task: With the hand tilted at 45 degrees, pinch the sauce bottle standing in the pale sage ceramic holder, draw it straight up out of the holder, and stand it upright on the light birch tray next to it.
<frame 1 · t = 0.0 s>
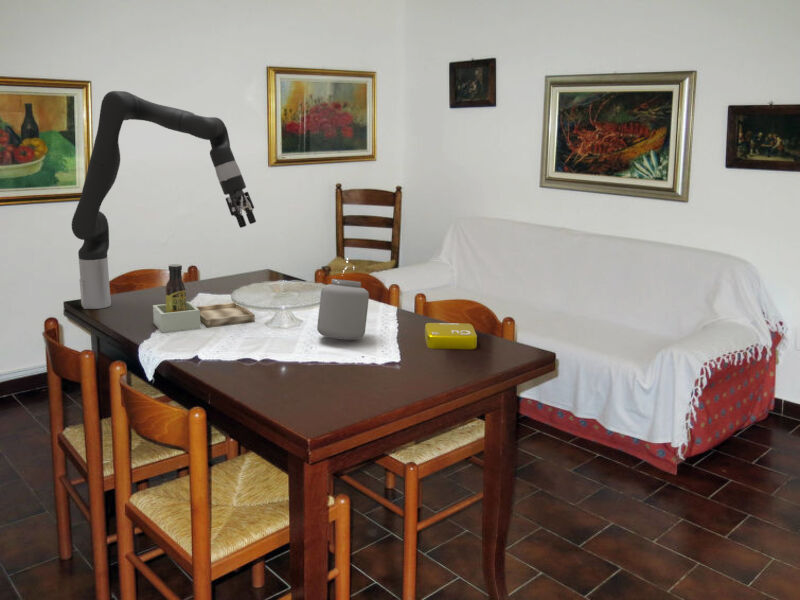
hand: (248, 225, 250), 31 cm above the table, tool tilted 20°, fingers open, 8 cm apart
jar: (344, 338, 237), on the table
tray: (223, 317, 256), on the table
element tile: (449, 343, 236), on the table
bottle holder: (176, 325, 246), on the table
sauce bottle: (177, 326, 246), resting in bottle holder
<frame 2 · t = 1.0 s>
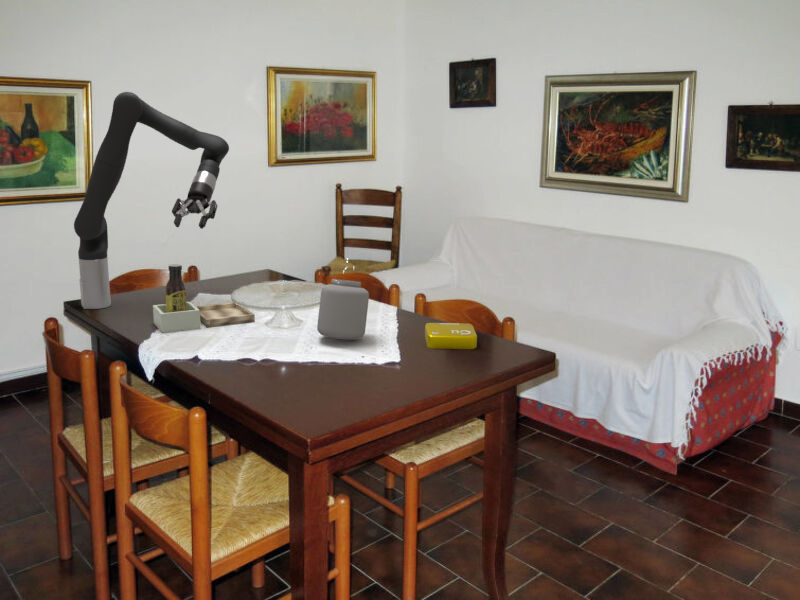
hand: (188, 226, 249), 31 cm above the table, tool tilted 45°, fingers open, 8 cm apart
nothing on the table moved.
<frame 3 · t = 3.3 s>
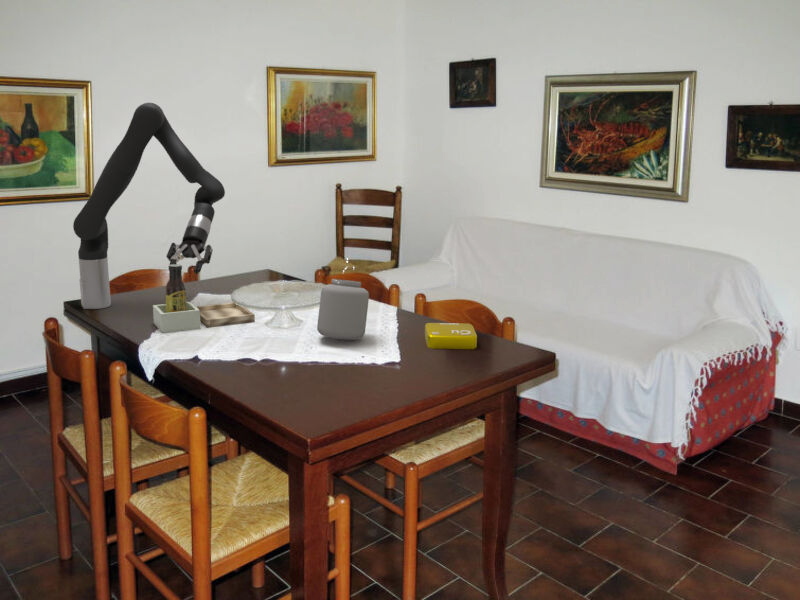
hand: (183, 271, 248), 16 cm above the table, tool tilted 45°, fingers open, 8 cm apart
nothing on the table moved.
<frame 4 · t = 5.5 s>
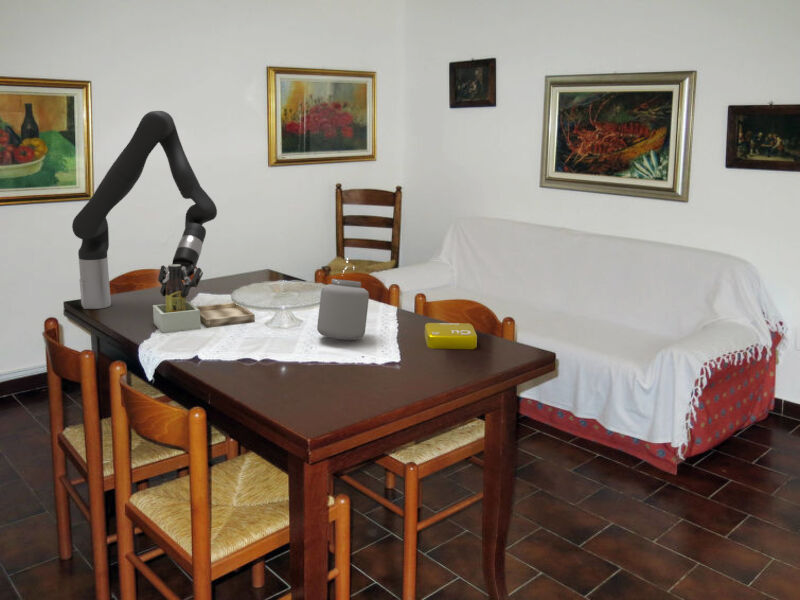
hand: (173, 295, 242), 10 cm above the table, tool tilted 45°, fingers closed on sauce bottle, 6 cm apart
sauce bottle: (177, 326, 246), resting in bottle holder, touching gripper
everything else where it was.
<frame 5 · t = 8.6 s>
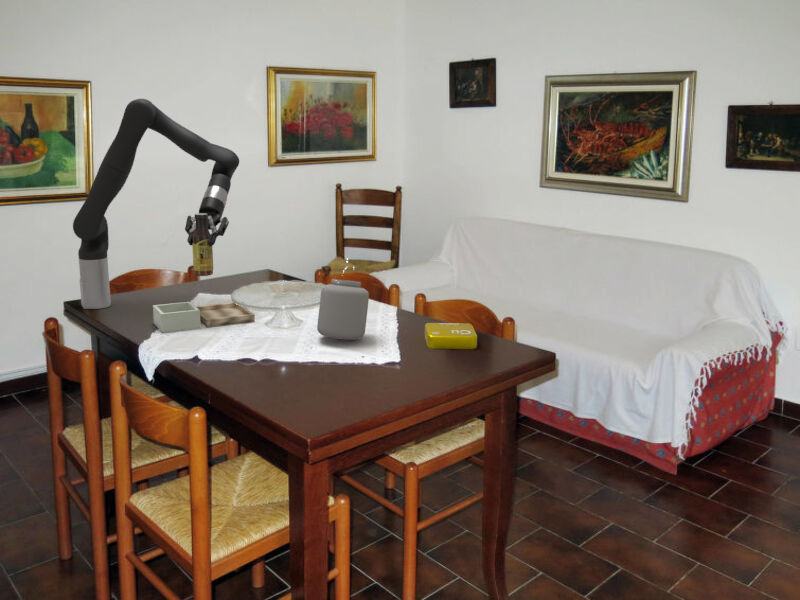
hand: (200, 244, 244), 26 cm above the table, tool tilted 45°, fingers closed on sauce bottle, 6 cm apart
sauce bottle: (204, 275, 248), point 15 cm above the table, touching gripper
everything else where it was.
when the fingers open (13 cm above the table, at t = 12.0 s): sauce bottle drops 1 cm, resting on tray.
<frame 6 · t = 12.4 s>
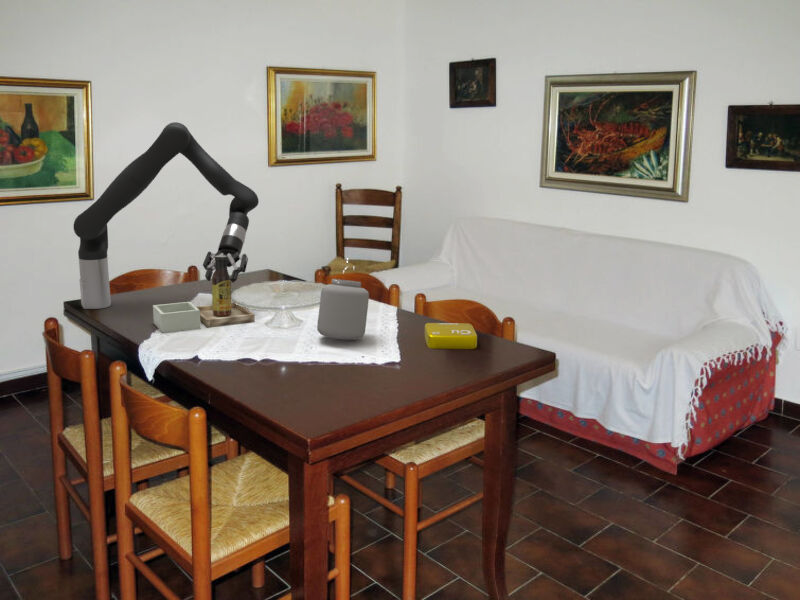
hand: (220, 280, 252), 13 cm above the table, tool tilted 45°, fingers open, 8 cm apart
sauce bottle: (222, 315, 256), point 1 cm above the table, touching tray
everything else where it was.
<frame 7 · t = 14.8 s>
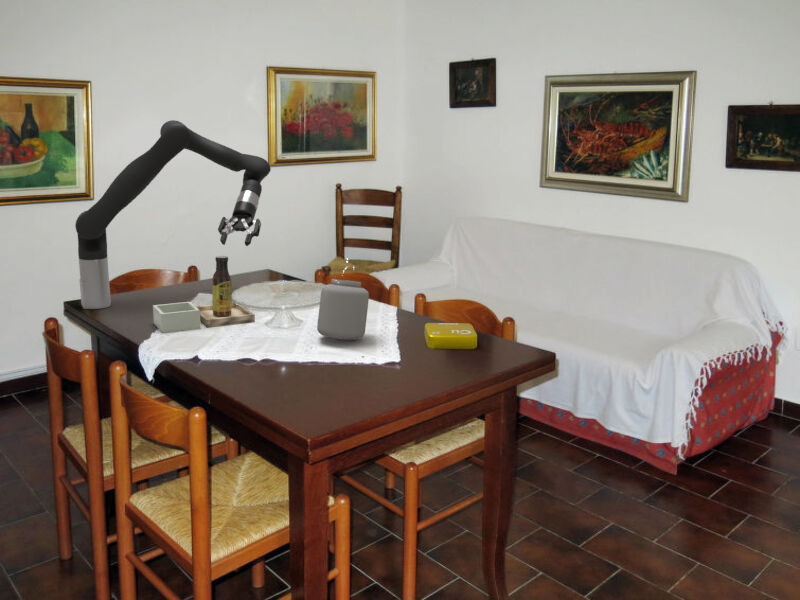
hand: (234, 244, 261), 23 cm above the table, tool tilted 45°, fingers open, 8 cm apart
nothing on the table moved.
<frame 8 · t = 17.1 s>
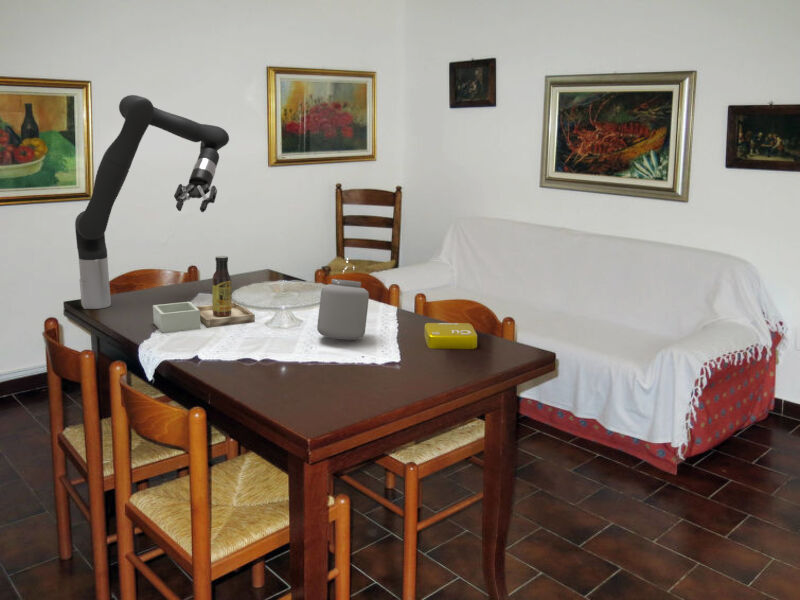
hand: (190, 210, 264), 34 cm above the table, tool tilted 45°, fingers open, 8 cm apart
nothing on the table moved.
at the end: sauce bottle inside the target area on the tray (0.2 cm from its centre), point 0.8 cm above the tray's base; sauce bottle tilted 0°; the gripper is holding nothing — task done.
